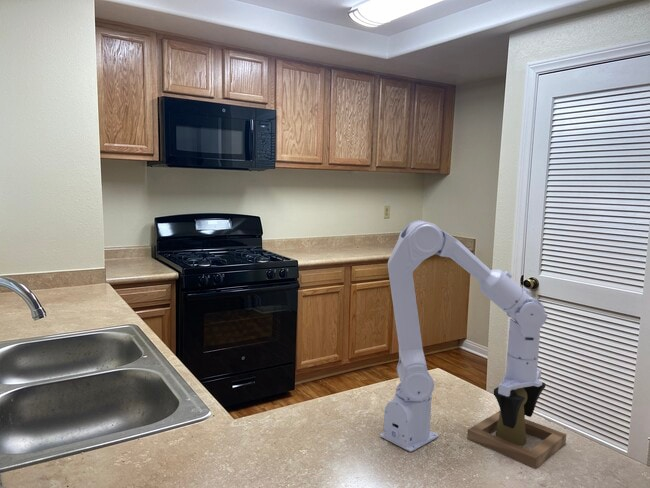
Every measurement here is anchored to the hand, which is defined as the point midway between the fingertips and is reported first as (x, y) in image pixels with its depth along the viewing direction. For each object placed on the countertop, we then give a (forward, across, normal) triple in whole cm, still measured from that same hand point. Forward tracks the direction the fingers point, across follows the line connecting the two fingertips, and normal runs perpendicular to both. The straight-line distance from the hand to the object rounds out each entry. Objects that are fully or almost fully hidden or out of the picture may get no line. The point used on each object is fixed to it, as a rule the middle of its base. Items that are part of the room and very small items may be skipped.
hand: (517, 420), depth 97 cm
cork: (+5, 0, +1) cm, 5 cm away
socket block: (+4, 0, 0) cm, 4 cm away
